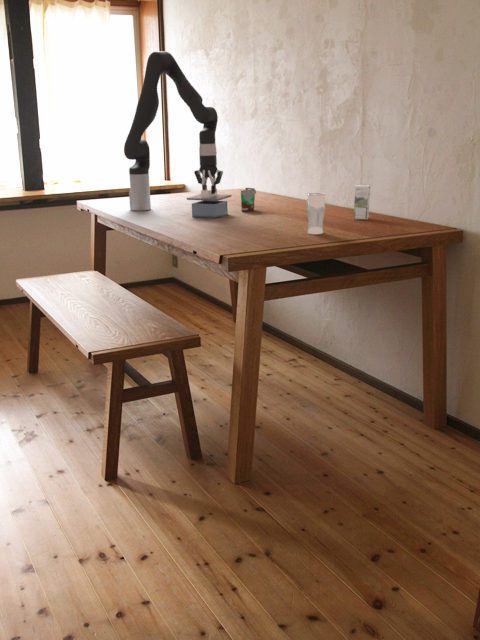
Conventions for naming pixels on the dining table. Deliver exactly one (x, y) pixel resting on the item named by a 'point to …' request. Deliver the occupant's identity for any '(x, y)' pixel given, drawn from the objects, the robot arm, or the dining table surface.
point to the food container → (248, 199)
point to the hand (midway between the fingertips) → (209, 193)
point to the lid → (208, 196)
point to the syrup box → (361, 202)
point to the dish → (209, 209)
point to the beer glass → (315, 212)
